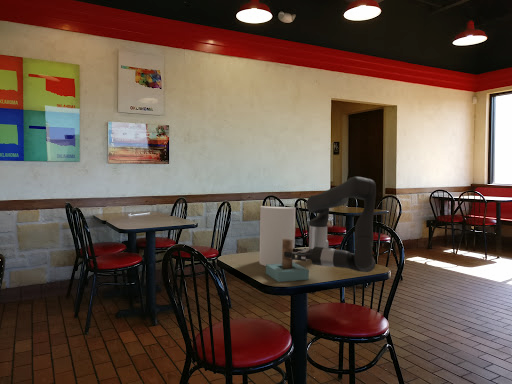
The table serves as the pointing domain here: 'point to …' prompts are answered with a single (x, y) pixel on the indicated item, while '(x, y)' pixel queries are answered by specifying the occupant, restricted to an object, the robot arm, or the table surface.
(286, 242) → the walnut peg
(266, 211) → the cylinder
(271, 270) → the collar
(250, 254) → the table surface
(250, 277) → the table surface
